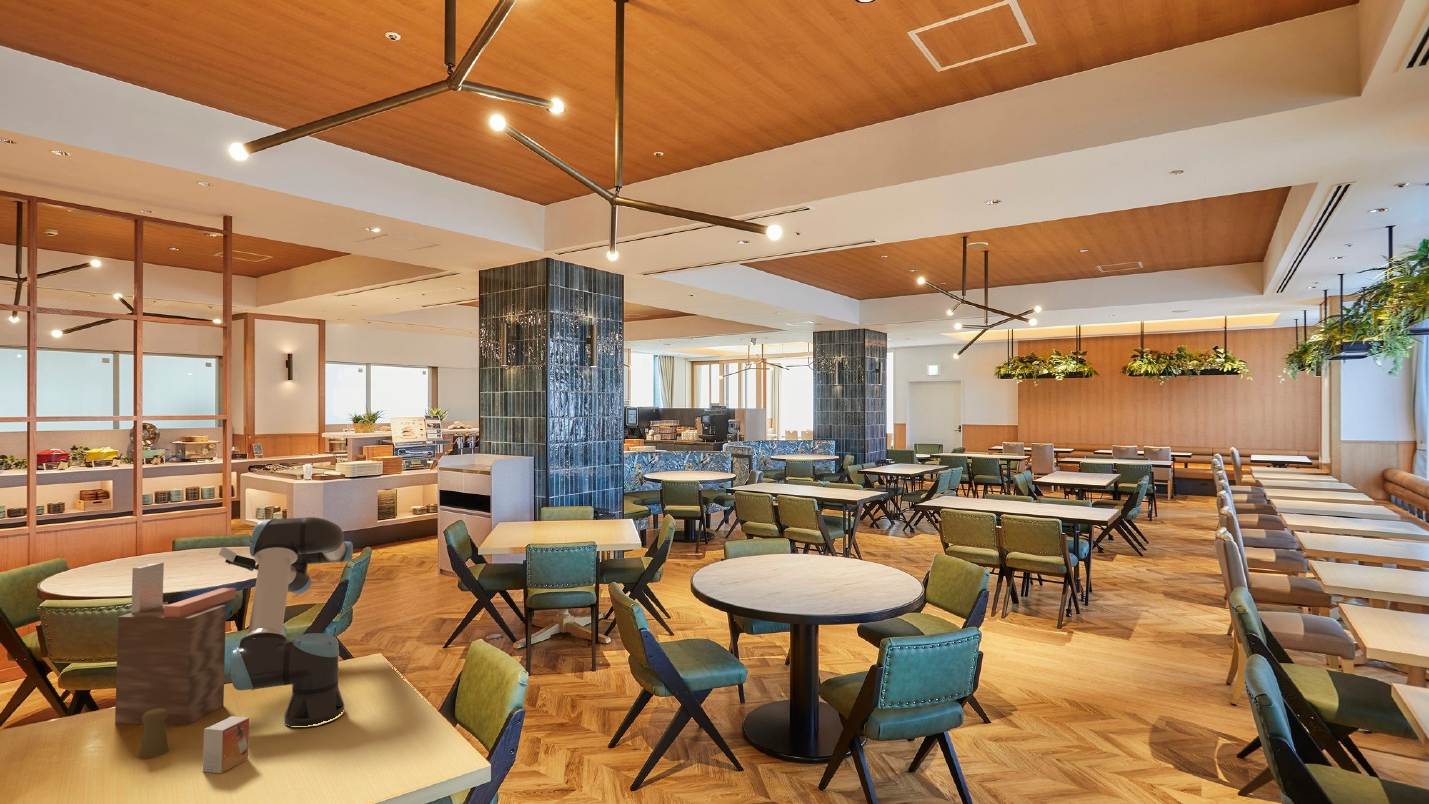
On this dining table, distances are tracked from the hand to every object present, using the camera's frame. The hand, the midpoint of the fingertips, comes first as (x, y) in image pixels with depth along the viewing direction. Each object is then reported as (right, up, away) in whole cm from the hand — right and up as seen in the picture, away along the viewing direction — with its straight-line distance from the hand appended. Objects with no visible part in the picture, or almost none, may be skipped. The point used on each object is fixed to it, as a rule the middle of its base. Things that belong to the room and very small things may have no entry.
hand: (241, 551), depth 228 cm
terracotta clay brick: (-1, -13, -16) cm, 21 cm away
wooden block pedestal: (-6, -43, -22) cm, 49 cm away
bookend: (-15, -13, -20) cm, 28 cm away
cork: (+8, -43, -46) cm, 63 cm away
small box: (+31, -43, -52) cm, 74 cm away
